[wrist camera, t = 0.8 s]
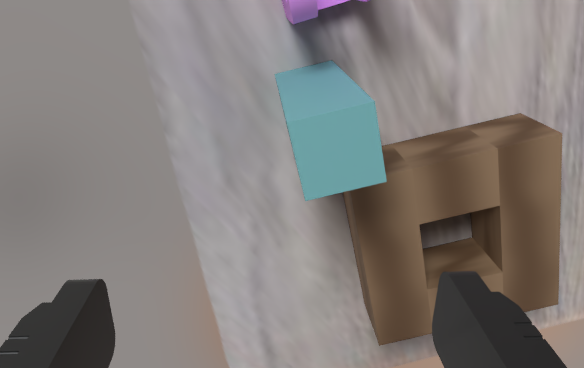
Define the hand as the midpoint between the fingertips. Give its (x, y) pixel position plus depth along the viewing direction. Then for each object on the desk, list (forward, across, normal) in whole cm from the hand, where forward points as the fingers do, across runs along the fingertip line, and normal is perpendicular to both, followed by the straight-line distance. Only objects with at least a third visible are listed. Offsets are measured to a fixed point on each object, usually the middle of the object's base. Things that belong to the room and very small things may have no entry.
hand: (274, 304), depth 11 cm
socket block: (+23, -13, +10) cm, 28 cm away
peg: (+23, -3, 0) cm, 23 cm away
